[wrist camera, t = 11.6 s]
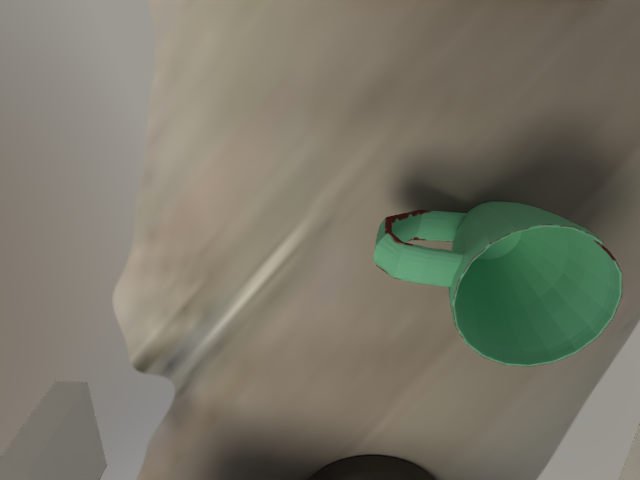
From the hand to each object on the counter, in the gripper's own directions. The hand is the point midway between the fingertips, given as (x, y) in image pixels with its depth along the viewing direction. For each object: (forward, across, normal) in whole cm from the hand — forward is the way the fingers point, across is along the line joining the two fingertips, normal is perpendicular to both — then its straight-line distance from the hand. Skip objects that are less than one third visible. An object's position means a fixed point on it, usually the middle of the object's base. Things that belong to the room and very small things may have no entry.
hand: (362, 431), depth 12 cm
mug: (+27, -9, +6) cm, 29 cm away
